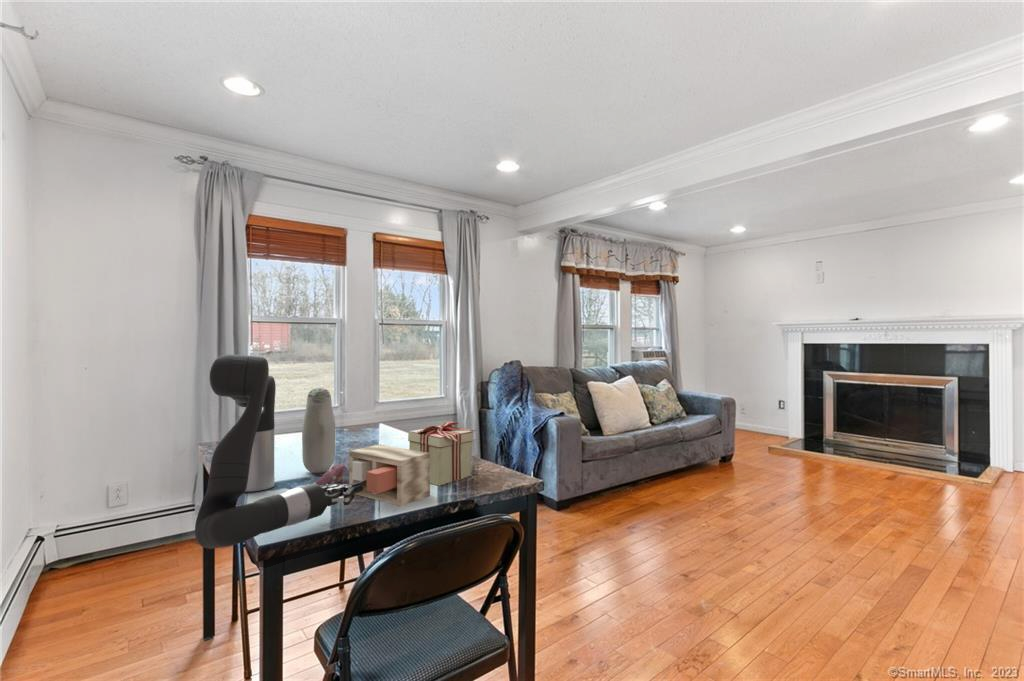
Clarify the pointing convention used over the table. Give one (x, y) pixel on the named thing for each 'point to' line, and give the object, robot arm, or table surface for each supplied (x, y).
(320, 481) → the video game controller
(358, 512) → the table surface
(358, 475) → the off-white plug
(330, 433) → the off-white bottle
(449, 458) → the gift box
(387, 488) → the rust-red plug
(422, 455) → the box
